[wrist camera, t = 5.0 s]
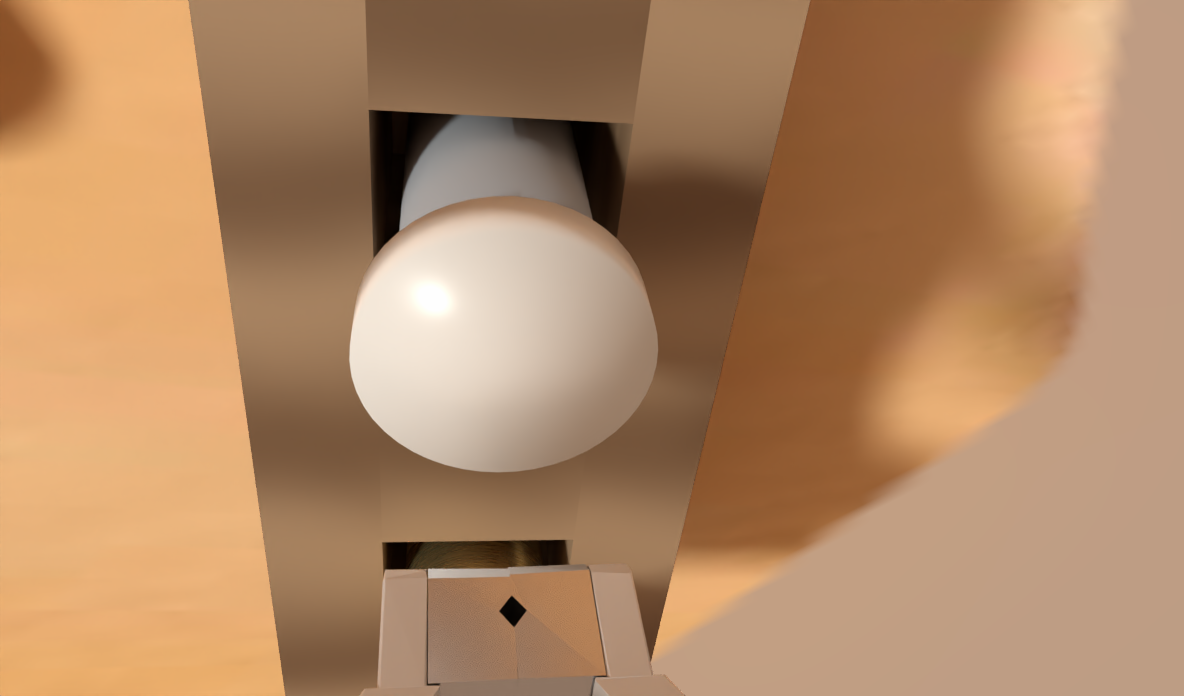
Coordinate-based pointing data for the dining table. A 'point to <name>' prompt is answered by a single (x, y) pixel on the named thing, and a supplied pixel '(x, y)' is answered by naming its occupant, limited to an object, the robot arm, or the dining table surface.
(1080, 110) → the dining table surface
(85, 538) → the dining table surface
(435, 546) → the brass plug
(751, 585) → the dining table surface
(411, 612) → the robot arm
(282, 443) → the socket block
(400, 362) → the white plug
